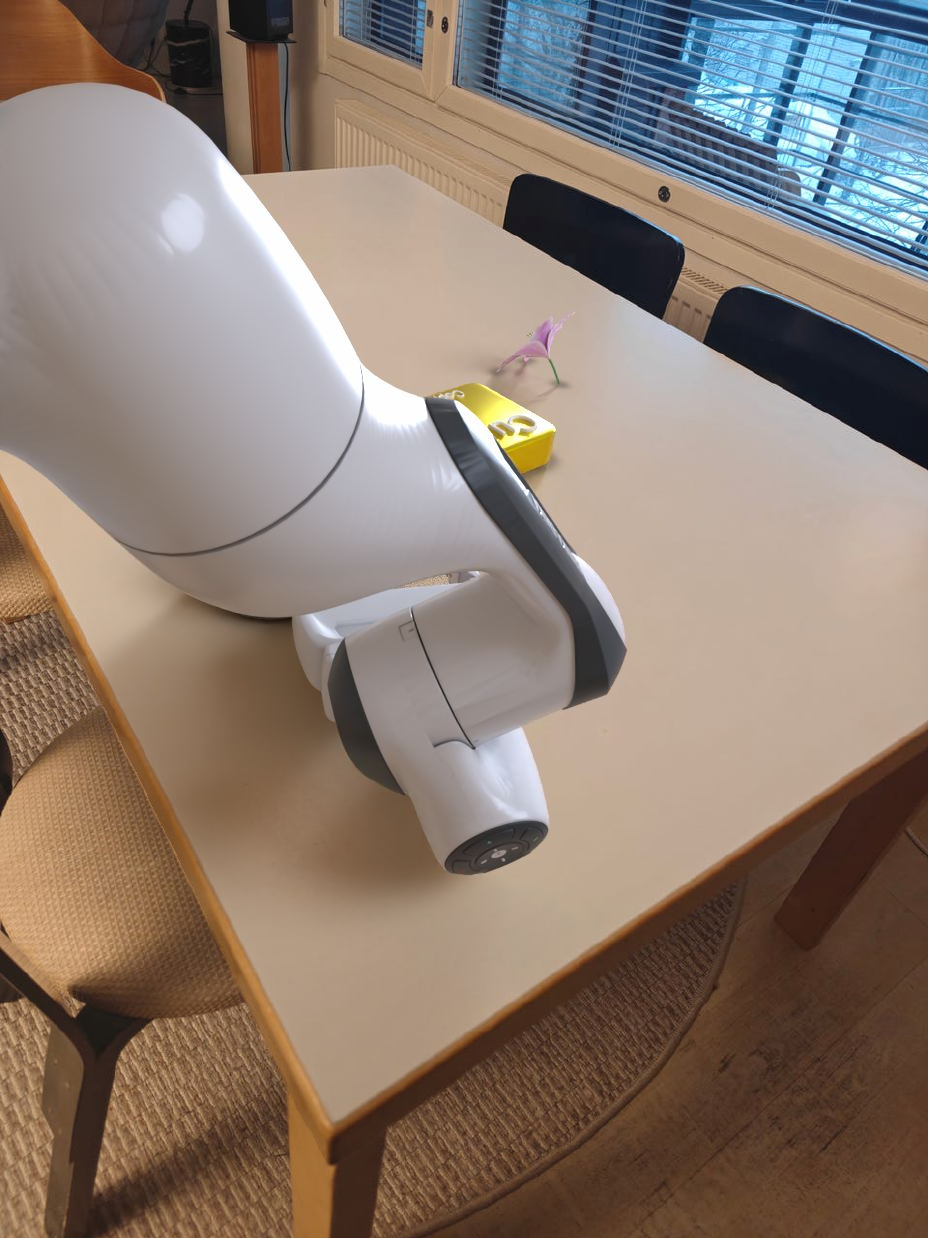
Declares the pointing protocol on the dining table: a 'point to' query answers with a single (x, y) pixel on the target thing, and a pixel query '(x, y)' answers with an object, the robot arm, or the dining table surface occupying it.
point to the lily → (539, 343)
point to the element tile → (507, 424)
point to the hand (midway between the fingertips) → (401, 567)
